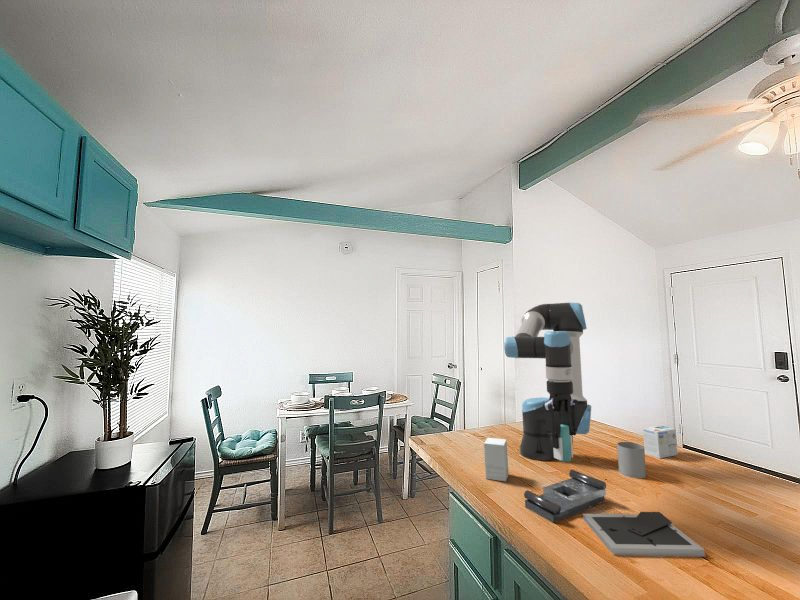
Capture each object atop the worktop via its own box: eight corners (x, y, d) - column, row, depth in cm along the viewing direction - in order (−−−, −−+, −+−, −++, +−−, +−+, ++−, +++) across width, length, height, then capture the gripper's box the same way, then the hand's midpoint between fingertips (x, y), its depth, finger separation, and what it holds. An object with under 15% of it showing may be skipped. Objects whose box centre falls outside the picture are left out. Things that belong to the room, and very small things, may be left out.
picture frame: (660, 522, 98) (583, 521, 99) (659, 511, 98) (582, 511, 100) (705, 559, 82) (613, 557, 84) (704, 546, 83) (612, 544, 84)
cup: (650, 479, 124) (648, 449, 125) (624, 477, 126) (622, 448, 127) (639, 469, 133) (637, 442, 133) (615, 468, 134) (613, 441, 135)
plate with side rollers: (523, 506, 107) (522, 484, 108) (575, 488, 118) (574, 468, 119) (554, 523, 97) (553, 499, 98) (607, 502, 109) (606, 480, 109)
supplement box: (509, 474, 131) (507, 439, 132) (506, 482, 124) (504, 445, 125) (488, 471, 134) (487, 437, 135) (484, 478, 127) (483, 442, 128)
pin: (553, 458, 110) (551, 425, 110) (562, 456, 111) (560, 423, 112) (565, 462, 106) (563, 428, 107) (573, 460, 108) (571, 426, 109)
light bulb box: (662, 450, 153) (660, 424, 154) (678, 455, 146) (676, 428, 147) (644, 453, 149) (642, 427, 150) (660, 458, 143) (658, 431, 144)
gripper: (550, 384, 104) (555, 466, 102) (587, 379, 112) (592, 456, 109) (530, 381, 110) (534, 458, 108) (566, 376, 118) (570, 449, 116)
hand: (563, 457), depth 109 cm, fingers closed on pin, 4 cm apart
